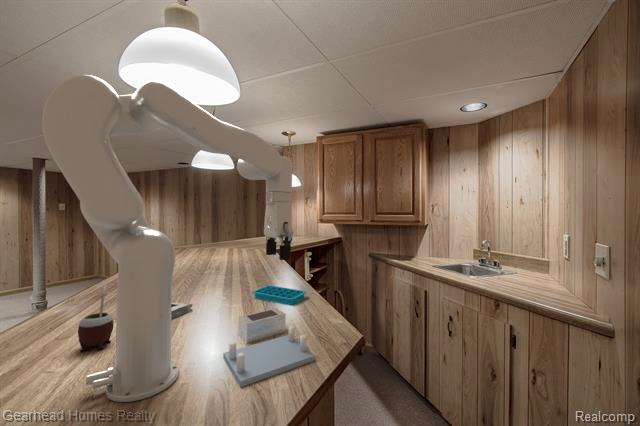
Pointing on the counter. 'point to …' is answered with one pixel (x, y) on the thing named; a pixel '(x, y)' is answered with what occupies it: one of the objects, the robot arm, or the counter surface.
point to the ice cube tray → (279, 294)
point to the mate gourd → (95, 329)
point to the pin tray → (267, 358)
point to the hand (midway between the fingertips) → (277, 257)
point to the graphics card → (179, 309)
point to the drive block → (261, 325)
